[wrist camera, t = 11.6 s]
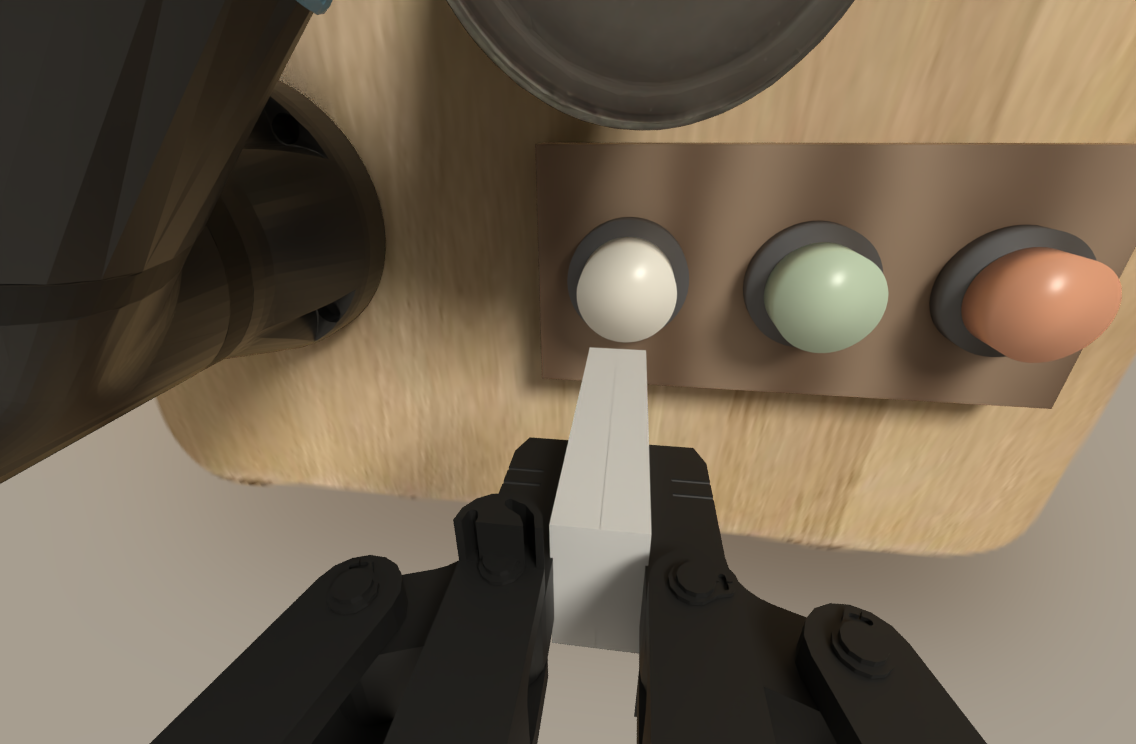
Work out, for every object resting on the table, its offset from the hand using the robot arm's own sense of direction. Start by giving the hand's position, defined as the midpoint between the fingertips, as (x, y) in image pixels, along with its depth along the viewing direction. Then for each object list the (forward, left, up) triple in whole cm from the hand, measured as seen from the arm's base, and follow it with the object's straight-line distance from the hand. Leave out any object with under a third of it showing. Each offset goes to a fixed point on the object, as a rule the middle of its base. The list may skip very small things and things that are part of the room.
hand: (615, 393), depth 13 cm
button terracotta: (+17, 0, -11) cm, 20 cm away
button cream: (0, 0, -11) cm, 11 cm away
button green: (+9, 0, -11) cm, 14 cm away
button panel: (+9, 0, -15) cm, 17 cm away
